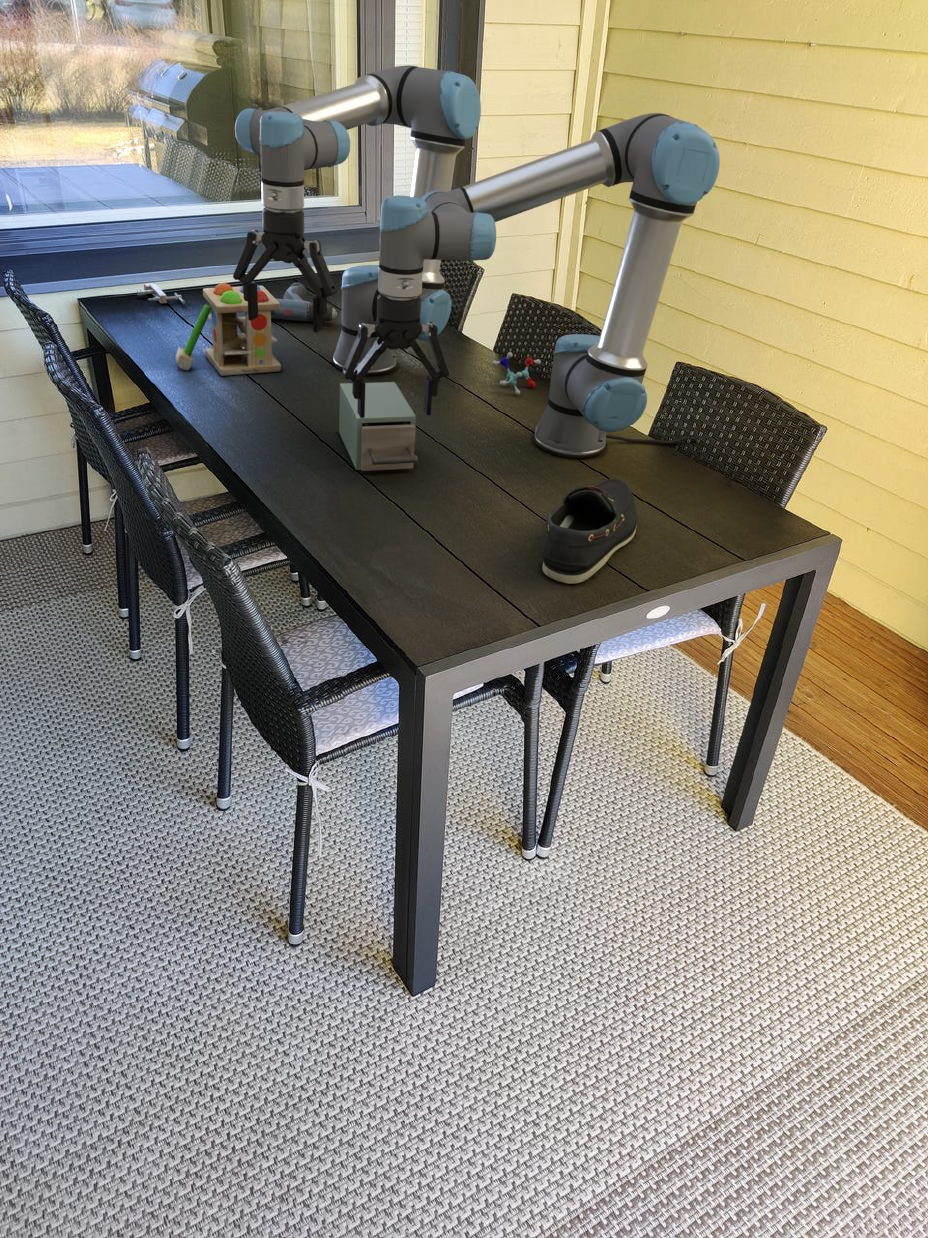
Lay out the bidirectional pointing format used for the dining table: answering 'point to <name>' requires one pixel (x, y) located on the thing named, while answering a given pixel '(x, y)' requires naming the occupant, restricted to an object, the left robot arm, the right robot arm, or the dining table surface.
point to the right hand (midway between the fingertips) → (394, 413)
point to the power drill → (299, 306)
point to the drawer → (388, 446)
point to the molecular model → (511, 375)
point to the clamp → (158, 294)
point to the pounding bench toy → (235, 333)
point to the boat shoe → (588, 530)
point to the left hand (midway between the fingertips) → (285, 324)
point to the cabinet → (370, 413)
